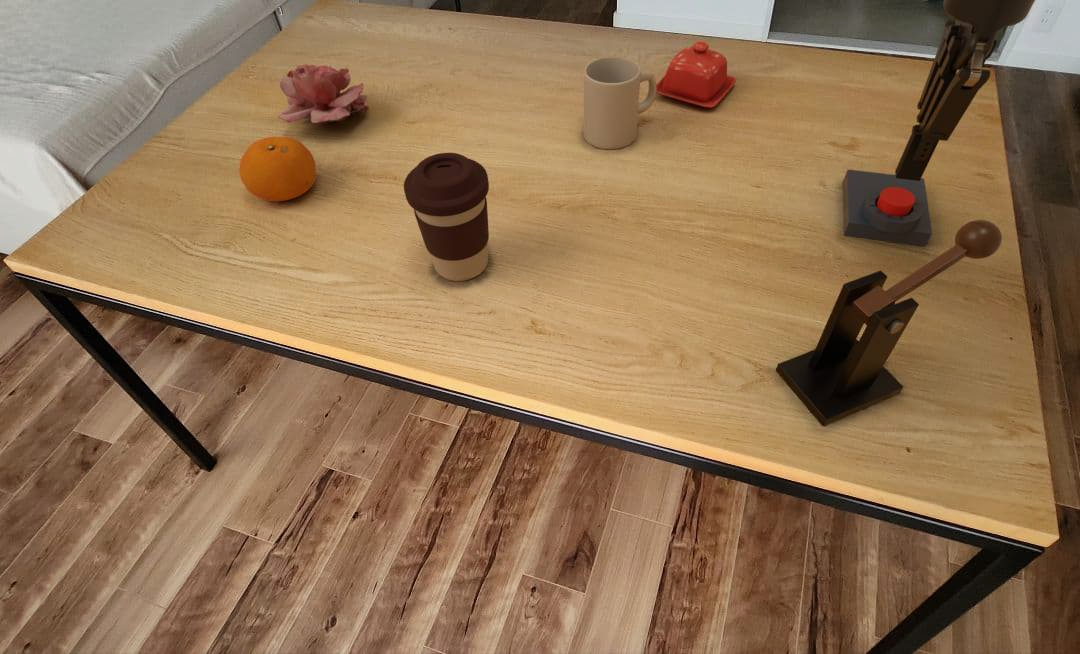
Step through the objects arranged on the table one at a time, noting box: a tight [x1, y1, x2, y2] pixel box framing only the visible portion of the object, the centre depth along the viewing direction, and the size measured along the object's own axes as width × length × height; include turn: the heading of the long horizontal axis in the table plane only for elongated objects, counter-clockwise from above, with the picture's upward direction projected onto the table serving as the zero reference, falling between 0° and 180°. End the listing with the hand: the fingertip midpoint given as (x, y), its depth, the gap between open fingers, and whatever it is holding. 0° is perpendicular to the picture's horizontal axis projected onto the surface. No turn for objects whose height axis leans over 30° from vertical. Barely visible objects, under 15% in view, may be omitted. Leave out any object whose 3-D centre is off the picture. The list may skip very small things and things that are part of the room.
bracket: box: [775, 270, 920, 427], centre depth 65 cm, size 10×8×14 cm
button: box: [877, 187, 915, 217], centre depth 82 cm, size 4×4×2 cm
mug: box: [582, 56, 657, 150], centre depth 100 cm, size 12×8×11 cm
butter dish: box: [656, 40, 737, 109], centre depth 108 cm, size 12×12×8 cm
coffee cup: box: [403, 152, 490, 282], centre depth 80 cm, size 10×10×15 cm
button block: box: [842, 168, 933, 247], centre depth 86 cm, size 13×10×4 cm
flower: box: [278, 63, 370, 124], centre depth 107 cm, size 15×15×10 cm
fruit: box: [238, 136, 317, 202], centre depth 95 cm, size 10×10×8 cm
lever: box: [853, 219, 1003, 326], centre depth 60 cm, size 14×4×4 cm, turn 113°
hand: (907, 175), depth 79 cm, fingers closed
